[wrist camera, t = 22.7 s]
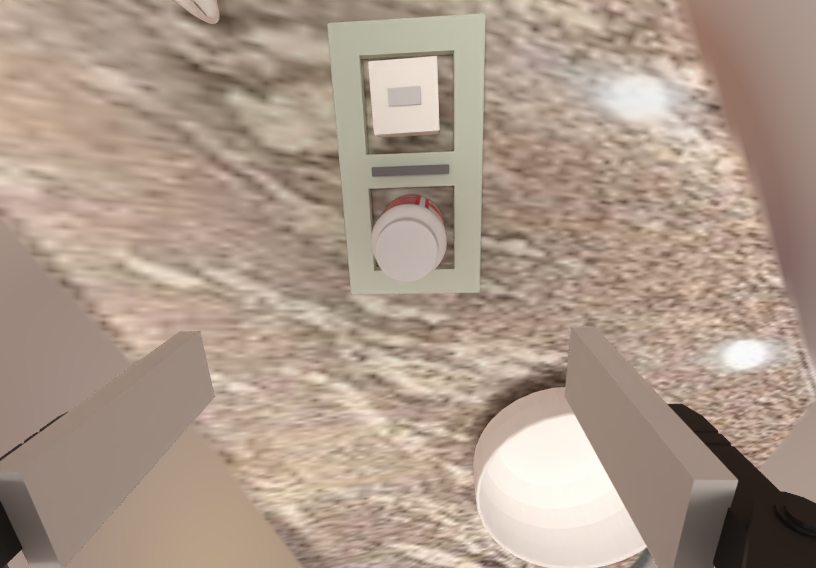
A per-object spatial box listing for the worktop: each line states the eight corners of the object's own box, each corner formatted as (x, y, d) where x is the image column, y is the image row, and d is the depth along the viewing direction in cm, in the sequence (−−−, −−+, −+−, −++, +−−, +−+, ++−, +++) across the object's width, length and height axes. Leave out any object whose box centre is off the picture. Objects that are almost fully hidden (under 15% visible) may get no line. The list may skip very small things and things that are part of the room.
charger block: (379, 78, 35) (367, 60, 28) (435, 74, 35) (437, 54, 28) (384, 137, 37) (373, 134, 30) (437, 134, 37) (439, 130, 30)
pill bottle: (372, 241, 40) (352, 273, 30) (395, 183, 38) (381, 196, 28) (429, 264, 41) (428, 303, 30) (454, 208, 39) (462, 230, 28)
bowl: (626, 504, 49) (665, 573, 41) (467, 501, 50) (474, 567, 42) (652, 364, 43) (703, 413, 35) (469, 364, 44) (478, 412, 36)
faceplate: (331, 28, 34) (325, 20, 32) (483, 19, 33) (486, 10, 31) (354, 289, 42) (350, 296, 40) (478, 287, 41) (480, 294, 39)
